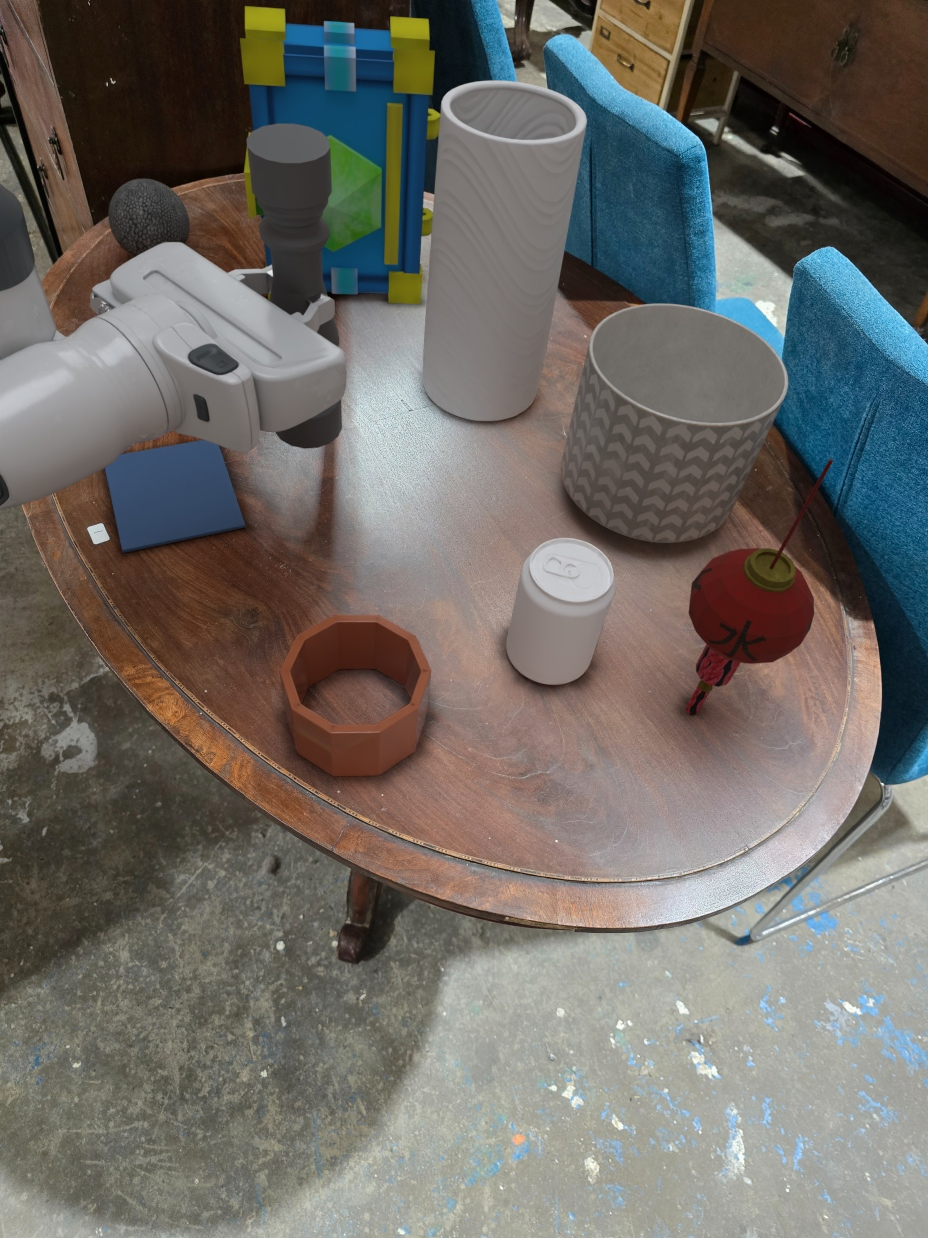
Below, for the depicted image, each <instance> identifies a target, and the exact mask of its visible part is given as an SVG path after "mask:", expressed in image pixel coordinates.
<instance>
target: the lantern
mask: <svg viewBox="0 0 928 1238" xmlns="http://www.w3.org/2000/svg"><path fill="white" fill-rule="evenodd" d="M833 462H834V459H832V458H830V459H828V461H827V463H826V464H825V466H824V468H823V470H822V471H821V474H820V475H819V478H818V479H817V481H816V483H815V484H814V486H813V488H812V490H811V492H810V494H809V495H808V497H807V499H806V500H805V502H804V504H803V506H802V508H801V510H800V512H799V513H798V515H797V517H796V519H795V521H794V523H793V524H792V526H791V527H790V530H789V531H788V533H787V535H786V536H785V539H784V541H783V542H782V544H781V546H780V548H779V549H774V548H771V547H765V548H764V547H763V548H758V547H750V548H747V547H746V548H738V549H734V550H729V551H726V552H724V553H722V554H719V555H717V556H715V557H713V558H711V559H710V561H708V562H707V563H706V564H705V566H703V568H702V569H701V571H700V572H699V573H698V574H697V575H696V577H695V578H694V579H693V581H692V582H691V588H690V595H689V605H688V606H689V607H688V616H689V619H690V621H691V625H692V626H693V629H694V631H695V633H696V634H697V635H698V636H699V638H700V639H701V640H702V641H703V642H704V643H705V645H704V648H703V650H702V652H701V653H700V655H699V657H698V659H697V661H696V663H695V673H696V675H697V676H698V678H699V679H700V680H699V681H698V684H697V686H696V687H695V690H694V691H693V693H692V695H691V697H690V698H689V700H688V702H687V705H685V712H686V714H688V715H689V716H691V717H694V716H697V715H698V714H699V712H700V711H701V709H702V707H703V706H704V704H705V702H706V700H707V698H708V697H709V695H710V693H711V691H712V690H713V689H714V688H713V687H717V688H719V687H723V686H727V685H728V684H729V682H730V681H731V680H732V678H733V677H734V676H735V673H736V672H737V670H738V668H739V667H740V665H741V664H747V665H748V664H750V665H754V664H766V663H774V662H777V661H778V660H780V659H782V658H784V657H786V656H787V655H790V654H791V652H793V651H794V650H796V649H797V648H798V647H799V646H801V645H802V643H803V641H804V640H805V638H806V637H807V636H808V633H809V632H810V631H811V628H812V624H813V620H814V616H815V597H814V595H813V592H812V591H811V588H810V587H809V583H808V582H807V580H806V577H805V576H804V574H803V573H802V571H801V569H799V568H798V567H797V566H796V565H795V563H794V561H793V559H791V557H789V556H788V555H787V554H786V553H784V550H785V548H786V547H787V545H788V543H789V541H790V540H791V537H792V536H793V535H794V533H795V530H796V529H797V527H798V525H799V523H800V522H801V520H802V518H803V516H804V514H805V513H806V510H807V509H808V508H809V505H810V503H811V502H812V500H813V499H814V496H815V495H816V493H817V491H818V489H819V488H820V485H821V484H822V482H823V480H824V479H825V477H826V475H827V473H828V472H829V470H830V468H831V466H832V465H833Z"/></svg>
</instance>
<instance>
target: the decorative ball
mask: <svg viewBox="0 0 928 1238" xmlns="http://www.w3.org/2000/svg"><path fill="white" fill-rule="evenodd" d="M107 213H108V223H109V227H110V231H111V233H112V235H113V237H114V239H115V240H116V242H117V243H118V245H119V246H120V247H121V248H122V250H124V251H125V252H126V253H127V254H128V255H130V256H131V257H133V258H134V257H136V256H138V255H139V254H141V253H143V252H145V251H147V250H149V249H151V248H153V247H155V246H157V245H159V244H162V243H165V242H181V243H183V244H185V245H186V244H187V242H188V240H189V237H190V229H191V227H190V218H189V217H190V216H189V213H188V210H187V207H186V206H185V204H184V202H183V200H182V199H181V198H180V196H179V195H178V194H177V193H176V192H175V191H174V189H172V188H171V187H169V185H166V184H164V183H163V182H161V181H157V180H155V179H151V178H136V179H131V180H130V181H126V182H125V183H124V184H122V185H121V186H119V187H118V189H117V190H116V191H115V192H114V194H113V196H112V197H111V200H110V202H109V206H108V212H107Z"/></svg>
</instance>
